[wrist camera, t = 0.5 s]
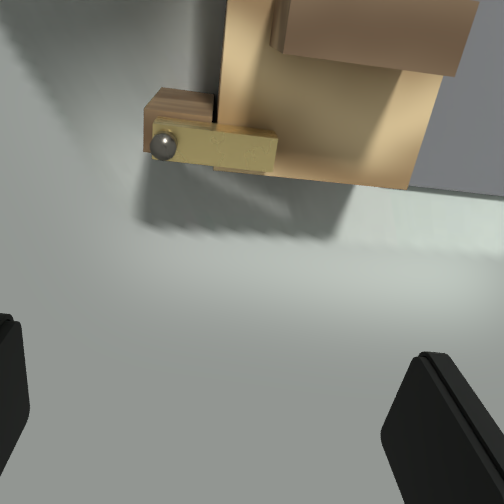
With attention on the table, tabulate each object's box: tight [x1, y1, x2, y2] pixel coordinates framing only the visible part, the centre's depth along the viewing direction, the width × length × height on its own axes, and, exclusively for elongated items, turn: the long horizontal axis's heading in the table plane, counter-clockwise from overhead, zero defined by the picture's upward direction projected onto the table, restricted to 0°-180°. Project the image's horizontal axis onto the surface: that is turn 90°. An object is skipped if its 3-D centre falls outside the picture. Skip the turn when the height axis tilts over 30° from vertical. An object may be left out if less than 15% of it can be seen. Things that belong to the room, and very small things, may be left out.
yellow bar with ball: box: [150, 116, 278, 173], centre depth 24 cm, size 2×7×3 cm, turn 82°
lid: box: [213, 0, 480, 190], centre depth 21 cm, size 18×13×8 cm
